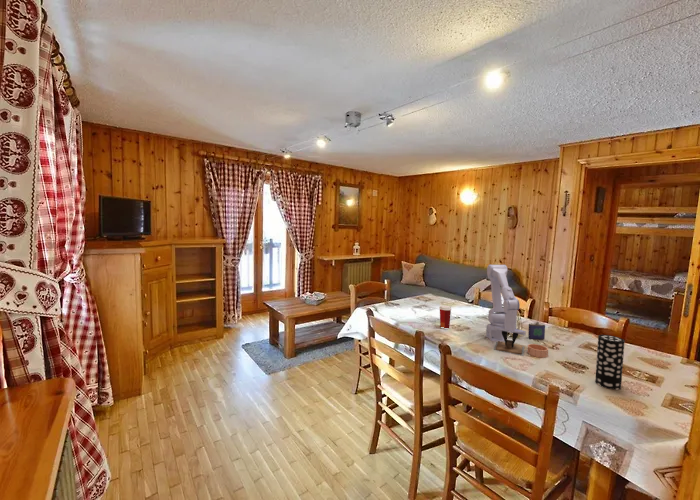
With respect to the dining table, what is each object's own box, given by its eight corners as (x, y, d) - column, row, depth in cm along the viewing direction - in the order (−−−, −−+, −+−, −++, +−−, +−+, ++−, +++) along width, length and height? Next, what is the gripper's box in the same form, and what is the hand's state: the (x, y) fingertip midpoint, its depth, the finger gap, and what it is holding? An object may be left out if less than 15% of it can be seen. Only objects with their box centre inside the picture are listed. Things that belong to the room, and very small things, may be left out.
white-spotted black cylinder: (590, 379, 131) (593, 335, 130) (607, 379, 132) (610, 334, 130) (607, 390, 123) (611, 342, 122) (626, 389, 124) (630, 341, 122)
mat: (493, 350, 162) (493, 349, 162) (496, 342, 174) (496, 341, 174) (523, 356, 155) (523, 355, 155) (524, 347, 166) (524, 346, 166)
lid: (495, 349, 162) (496, 342, 162) (498, 342, 172) (498, 336, 172) (521, 354, 156) (521, 347, 156) (522, 347, 166) (522, 340, 166)
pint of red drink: (450, 326, 201) (451, 305, 200) (450, 330, 194) (451, 308, 193) (438, 325, 204) (439, 304, 203) (438, 328, 197) (438, 307, 196)
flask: (543, 338, 181) (543, 320, 180) (546, 340, 178) (546, 322, 177) (527, 338, 181) (528, 320, 180) (529, 339, 178) (530, 322, 177)
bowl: (534, 358, 153) (534, 350, 153) (523, 351, 162) (524, 344, 162) (551, 358, 153) (552, 350, 153) (540, 351, 162) (540, 344, 162)
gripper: (494, 320, 164) (493, 345, 165) (525, 325, 156) (524, 351, 157) (496, 317, 170) (495, 341, 171) (526, 321, 162) (525, 346, 163)
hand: (509, 345), depth 164 cm, fingers closed on lid, 2 cm apart
